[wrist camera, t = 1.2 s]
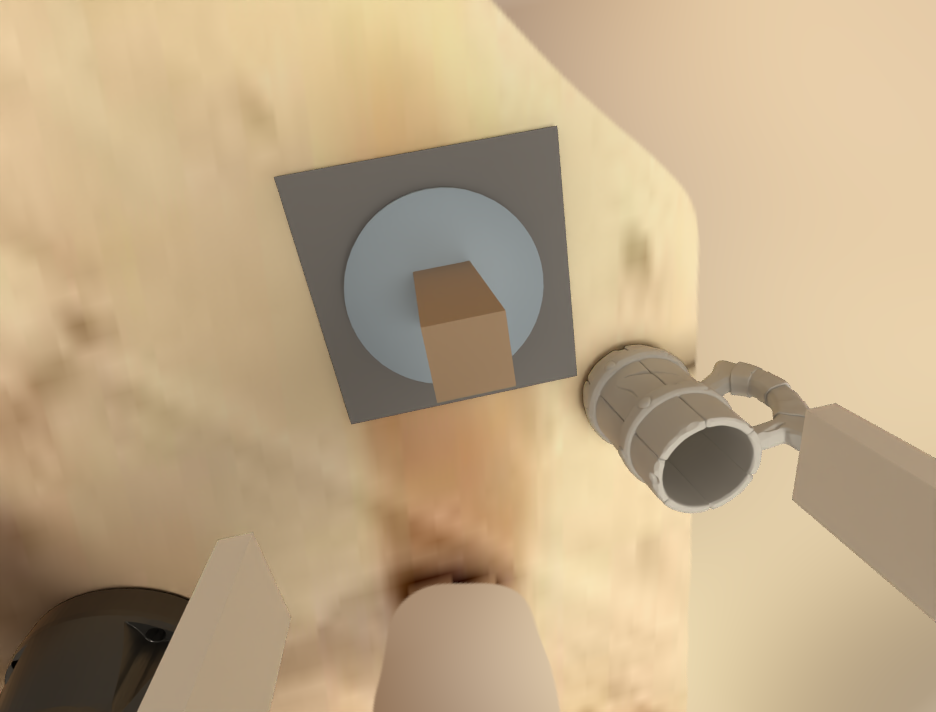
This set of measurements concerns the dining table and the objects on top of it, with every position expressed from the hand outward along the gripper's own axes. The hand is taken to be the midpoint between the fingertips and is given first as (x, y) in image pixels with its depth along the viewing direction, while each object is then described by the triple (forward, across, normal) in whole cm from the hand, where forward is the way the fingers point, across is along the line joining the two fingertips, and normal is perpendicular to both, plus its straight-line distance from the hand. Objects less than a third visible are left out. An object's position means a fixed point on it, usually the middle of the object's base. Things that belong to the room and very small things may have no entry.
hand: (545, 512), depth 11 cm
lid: (+20, 0, 0) cm, 20 cm away
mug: (+21, +14, -9) cm, 27 cm away
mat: (+21, 0, 0) cm, 21 cm away
